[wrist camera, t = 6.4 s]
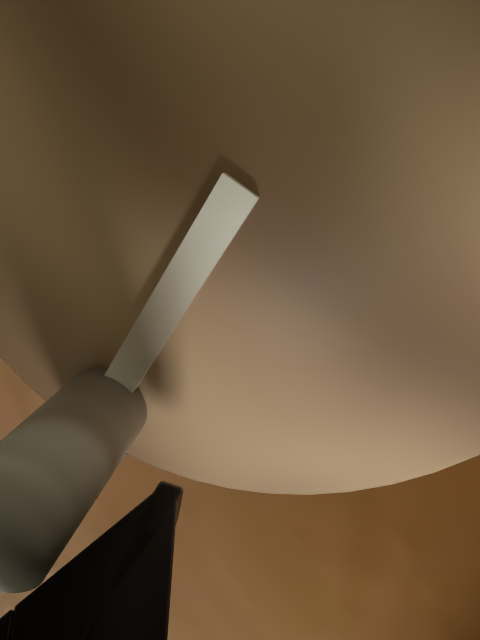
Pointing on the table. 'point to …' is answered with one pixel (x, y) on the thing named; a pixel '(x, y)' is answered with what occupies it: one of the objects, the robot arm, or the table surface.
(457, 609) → the table surface
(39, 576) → the dial
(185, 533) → the table surface
